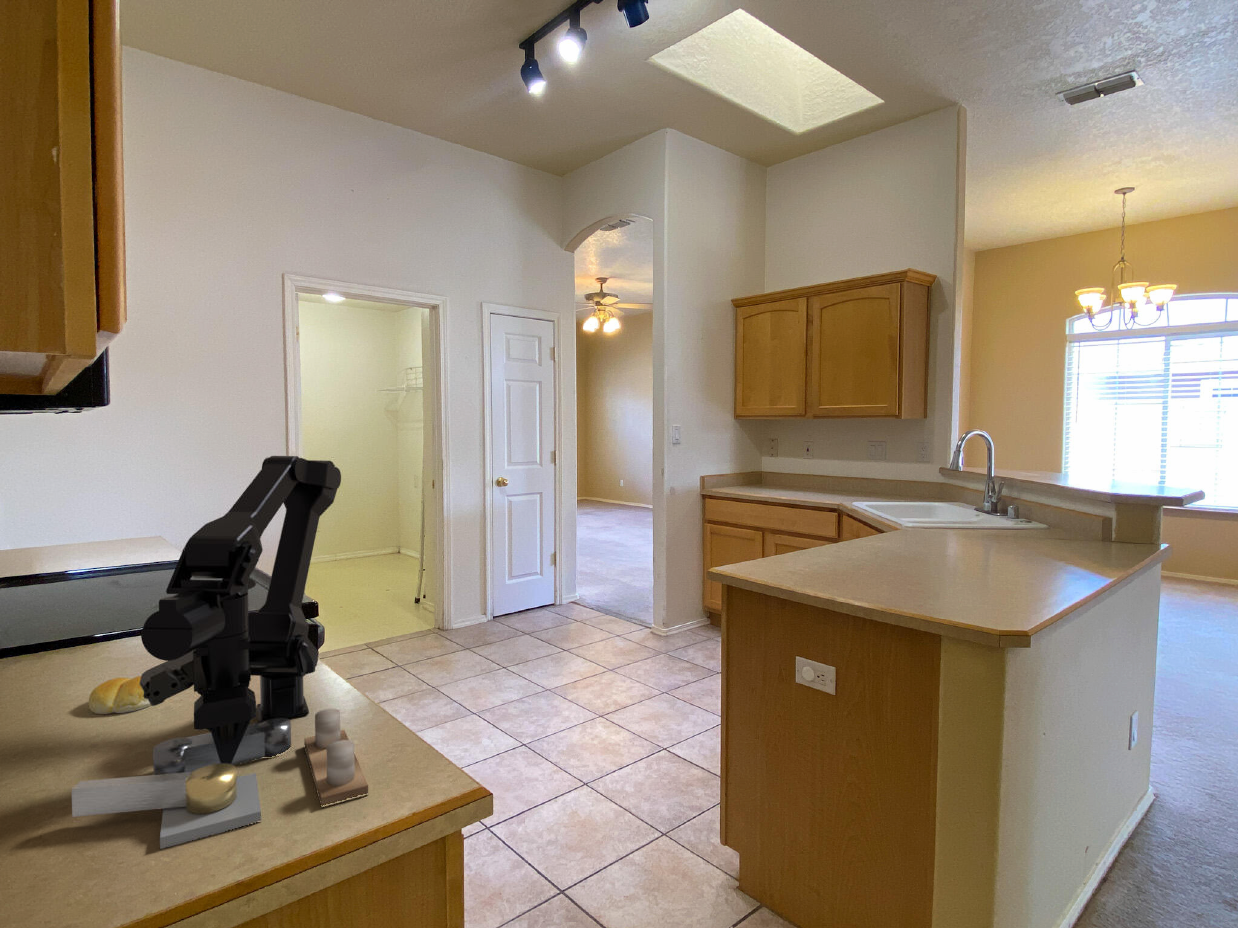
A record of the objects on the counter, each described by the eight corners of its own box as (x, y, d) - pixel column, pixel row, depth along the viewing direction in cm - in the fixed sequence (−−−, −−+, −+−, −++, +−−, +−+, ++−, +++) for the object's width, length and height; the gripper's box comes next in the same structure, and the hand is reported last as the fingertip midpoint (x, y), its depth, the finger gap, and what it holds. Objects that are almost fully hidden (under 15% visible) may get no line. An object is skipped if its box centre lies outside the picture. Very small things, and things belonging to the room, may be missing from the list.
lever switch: (243, 786, 76) (242, 760, 75) (227, 811, 71) (226, 783, 71) (90, 800, 72) (89, 773, 72) (63, 826, 68) (62, 797, 68)
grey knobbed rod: (152, 785, 78) (151, 756, 78) (154, 769, 82) (154, 742, 81) (292, 753, 86) (292, 727, 86) (289, 740, 90) (289, 715, 89)
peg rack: (304, 746, 88) (303, 708, 87) (344, 737, 90) (344, 700, 90) (321, 807, 74) (321, 763, 74) (368, 795, 77) (367, 752, 76)
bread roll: (110, 694, 103) (109, 669, 103) (171, 692, 105) (170, 667, 104) (73, 717, 95) (72, 691, 95) (140, 715, 96) (139, 689, 96)
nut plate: (165, 804, 74) (165, 794, 74) (256, 782, 79) (255, 772, 79) (160, 849, 67) (159, 837, 67) (261, 821, 71) (260, 811, 71)
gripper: (149, 620, 86) (153, 736, 87) (136, 667, 71) (141, 807, 72) (247, 609, 92) (249, 717, 93) (255, 649, 76) (257, 779, 78)
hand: (225, 751), depth 84 cm, fingers open, 7 cm apart
